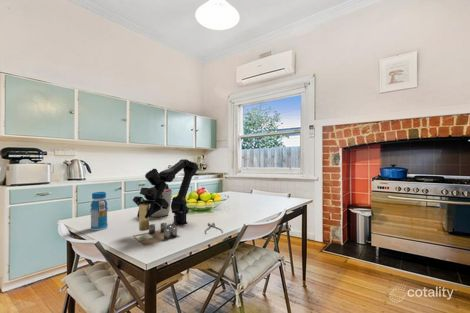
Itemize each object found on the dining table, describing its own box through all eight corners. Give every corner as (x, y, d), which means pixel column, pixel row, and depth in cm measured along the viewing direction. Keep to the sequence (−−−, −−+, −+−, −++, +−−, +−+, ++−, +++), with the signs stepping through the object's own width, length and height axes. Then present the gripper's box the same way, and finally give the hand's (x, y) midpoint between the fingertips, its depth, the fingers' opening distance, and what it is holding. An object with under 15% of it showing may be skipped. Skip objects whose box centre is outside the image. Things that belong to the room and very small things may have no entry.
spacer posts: (164, 229, 125) (164, 221, 125) (178, 236, 112) (178, 228, 112) (147, 232, 119) (147, 224, 119) (160, 241, 107) (160, 232, 107)
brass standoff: (148, 227, 115) (148, 203, 115) (149, 230, 111) (149, 204, 111) (138, 228, 113) (138, 204, 113) (139, 231, 109) (139, 205, 109)
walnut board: (166, 230, 126) (166, 228, 126) (180, 238, 113) (180, 236, 113) (132, 237, 114) (132, 235, 114) (143, 247, 101) (143, 245, 101)
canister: (176, 212, 167) (176, 183, 167) (166, 218, 149) (166, 186, 149) (152, 211, 169) (152, 182, 169) (139, 218, 151) (139, 185, 151)
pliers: (206, 234, 118) (197, 223, 136) (206, 236, 118) (197, 225, 136) (224, 231, 121) (213, 222, 140) (224, 233, 121) (213, 223, 140)
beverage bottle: (87, 231, 125) (87, 194, 125) (94, 226, 134) (93, 191, 134) (104, 230, 127) (104, 193, 127) (109, 225, 135) (109, 191, 135)
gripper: (135, 180, 119) (117, 206, 109) (164, 181, 112) (148, 209, 102) (146, 193, 126) (130, 219, 116) (175, 195, 119) (160, 222, 109)
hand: (141, 217), depth 111 cm, fingers closed on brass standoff, 4 cm apart
